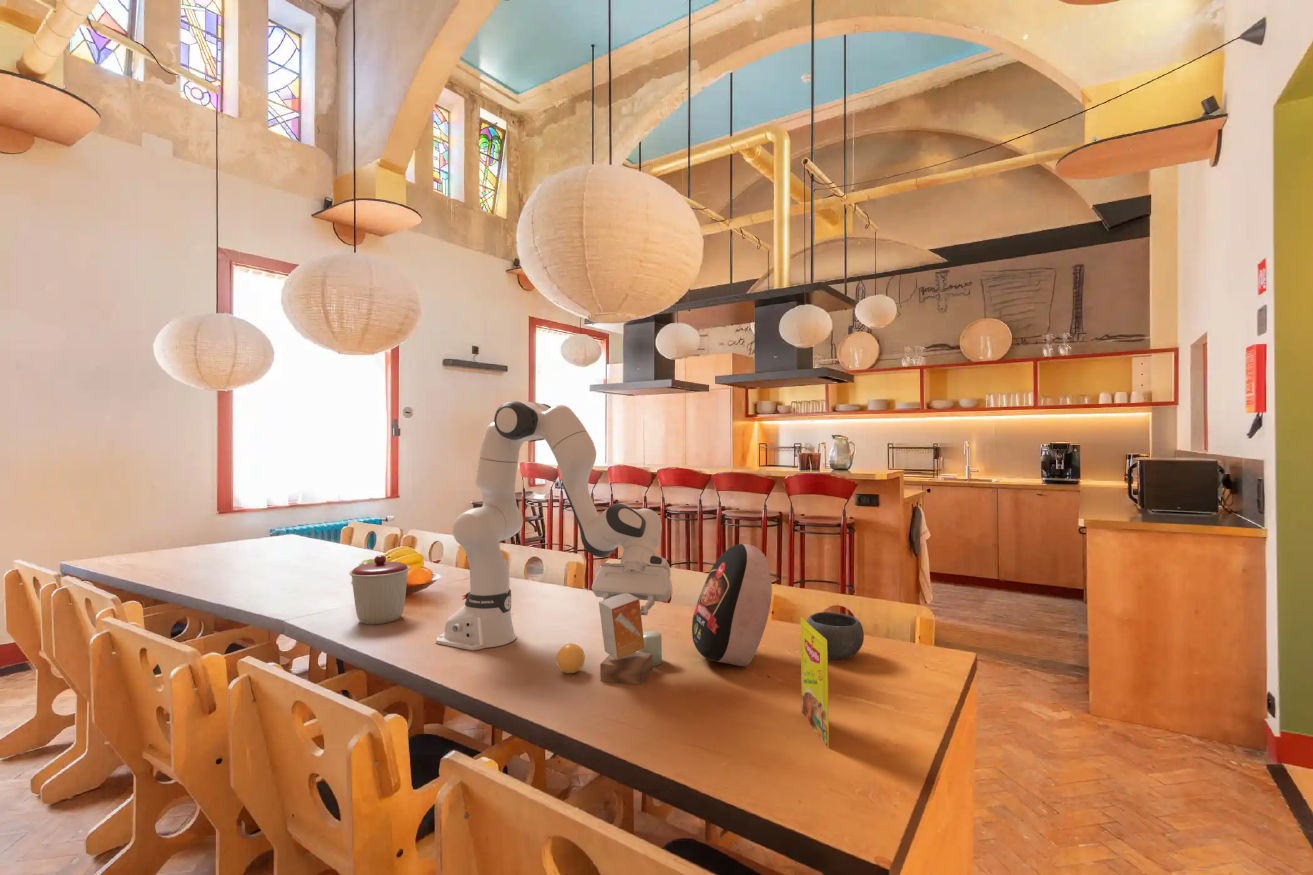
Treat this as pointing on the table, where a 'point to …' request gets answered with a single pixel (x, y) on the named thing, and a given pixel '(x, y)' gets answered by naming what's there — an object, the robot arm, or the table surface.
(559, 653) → the orange
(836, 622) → the bowl
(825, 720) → the food package
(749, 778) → the table surface
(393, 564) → the canister
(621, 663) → the brown block
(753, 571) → the packaged food
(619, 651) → the small box
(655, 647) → the pale green cylinder
